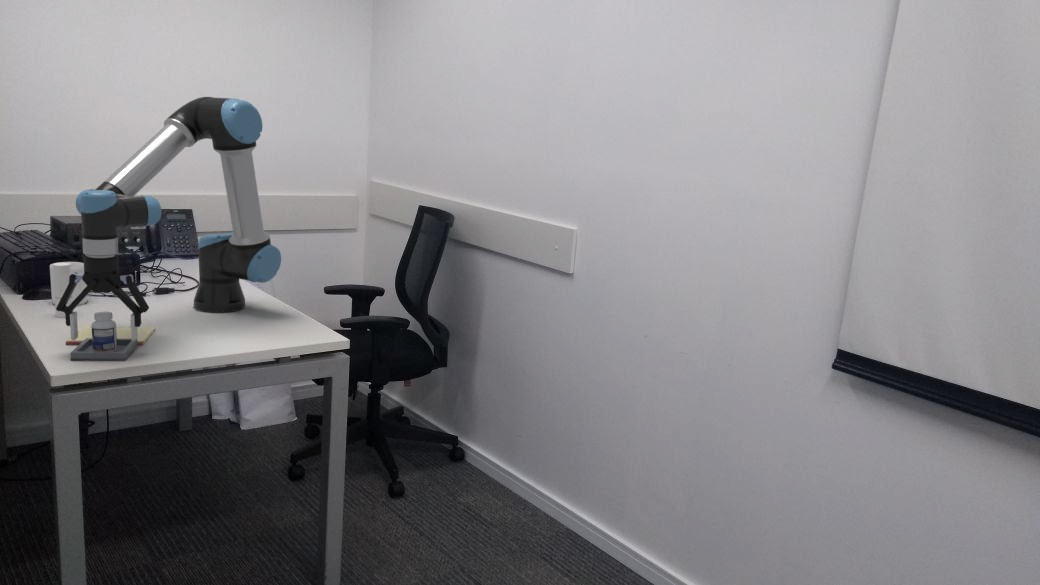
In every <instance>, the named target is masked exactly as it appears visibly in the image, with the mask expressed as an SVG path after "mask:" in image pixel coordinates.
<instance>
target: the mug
mask: <svg viewBox="0 0 1040 585" xmlns="http://www.w3.org/2000/svg"><path fill="white" fill-rule="evenodd" d="M58 263H70V266H71V274H73V273H75V272H76V273H78V274H81V275H84V262H81V261H62V262H58ZM53 264H54V263H51V264H50V265H49V276H50V277H49V278H50V289H51V291H50V292H51V302H52V304H53V305H55V294H54V277H53ZM86 287H87V285H86V284H85V282H84V281H83V280H80V282H79V283H77V285H76V287H75V289H74V291H73V293H72V302H73V301H74V300H75V299H76V298H77V296H78V295H79V294H80V293H81V292H82V291H83V290H84V289H85V288H86ZM88 295H89V294H88ZM88 295H87V296H86V297H85V298H84V299H83V300H82V301H81V302H80V303H79V304H78V305H77V306H81V305H84V304H86V303H87V302H88V299H89V297H88Z"/></svg>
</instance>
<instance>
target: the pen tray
mask: <svg viewBox="0 0 1040 585" xmlns="http://www.w3.org/2000/svg"><path fill="white" fill-rule="evenodd" d="M136 347H139V345H138V339H136V340H135V341H132V339H119V338H117V350H116V351H115V352H93V343H92V338H86V339H85V340H84V341H83V342H82V343H81V344H79V345H76V347H75V348H73V350H71V351H70V361H71V360H73V361H74V362H79V361H80V362H83V361H84V360H89V361H90V360H91V361H90V362H92V360H93V361H95V362H103V361H105V362H106V361H108V362H109V361H110V362H111V361H113V362H115V361H116V362H124V361H125V362H126V360H128V358H129V357H130V356H131V355H132V354H133V352H134V351H135V350H136V349H137V348H136ZM135 348H136V349H135ZM130 354H131V355H130ZM77 360H78V361H77ZM82 360H83V361H82ZM89 361H88V362H89Z"/></svg>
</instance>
